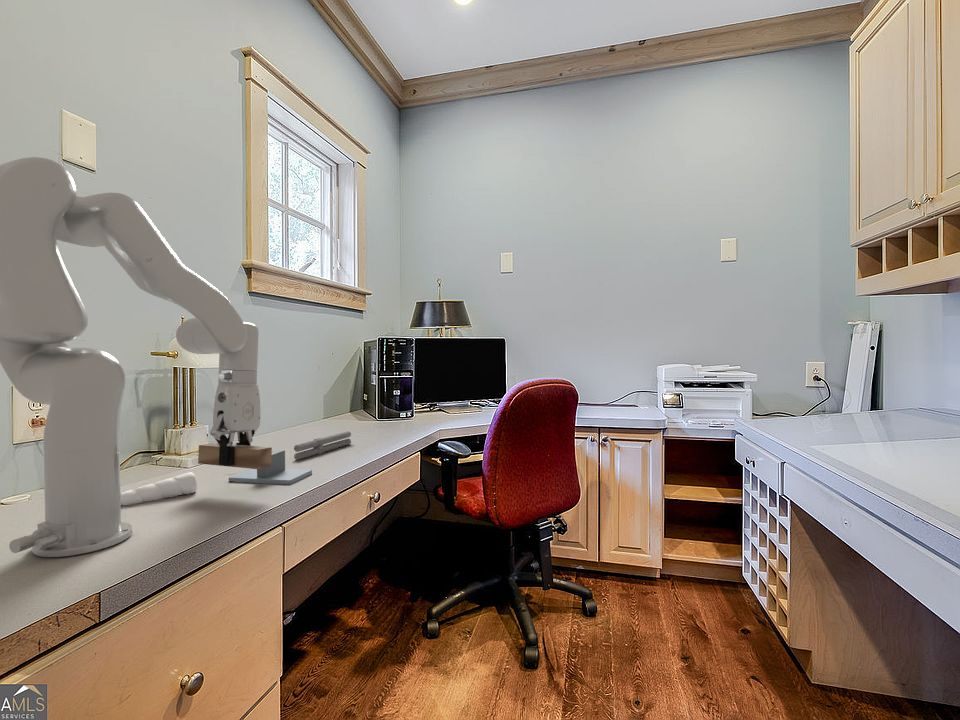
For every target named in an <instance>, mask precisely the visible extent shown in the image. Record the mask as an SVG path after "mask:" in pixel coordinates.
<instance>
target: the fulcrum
mask: <svg viewBox="0 0 960 720" xmlns="http://www.w3.org/2000/svg"><path fill="white" fill-rule="evenodd" d="M312 474H313V469H299V468H298V469H296V468H295V469H294V468H286V450H285V449H281V450H280V449H275V450H272V458H271V466H269V467H265V468H260V469H250V468H249V469H248V470H246V471H243V472H239V473H237V474H234V475H233V476H229V477H228V482H229V481H234V482H233V483H246V482H247V484H267V485H268V484H272V485H273V484H274V485H292V484H294V483H296V482H299V481H300V480H302V479H304V478H306V477H307V478H308V476H311V475H312Z"/></svg>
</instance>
